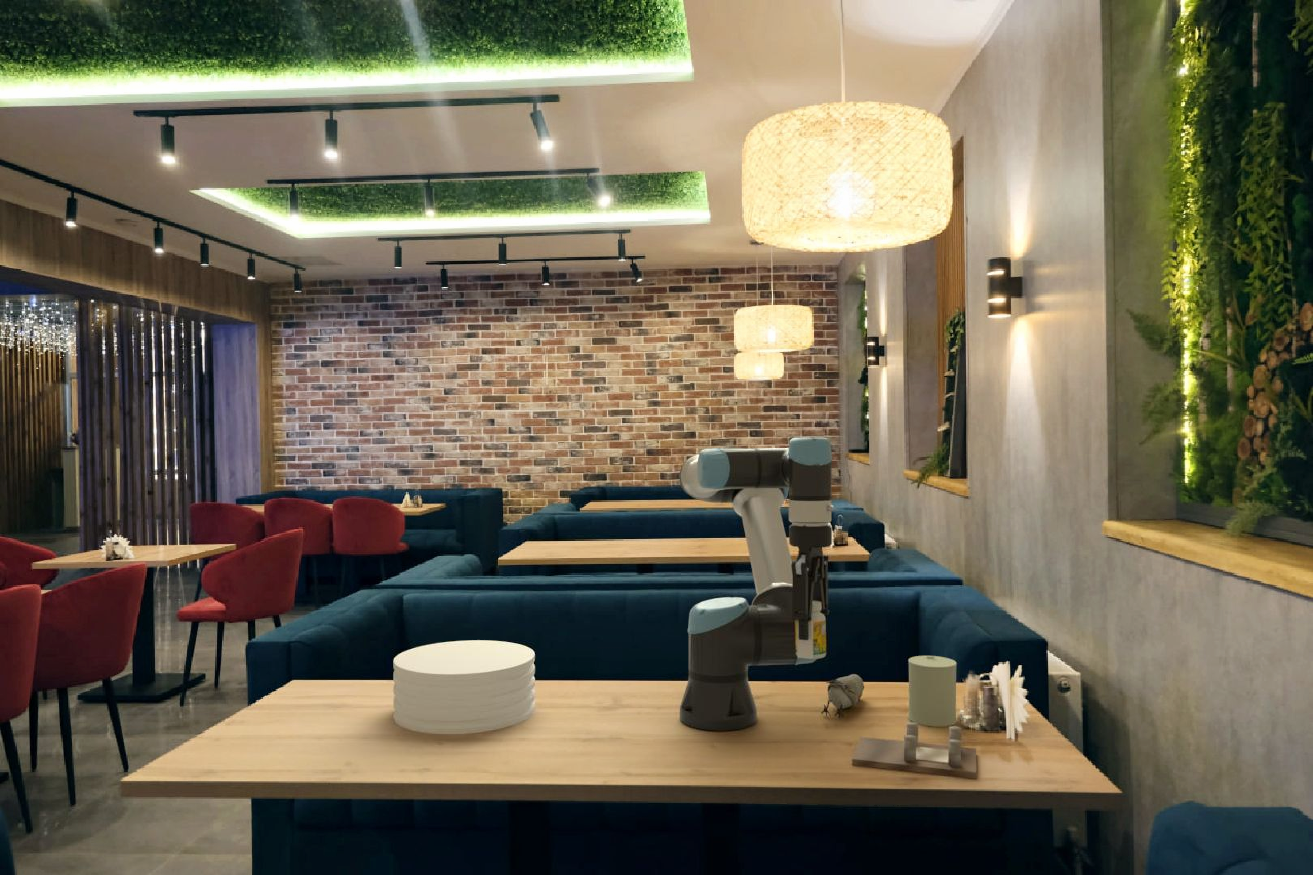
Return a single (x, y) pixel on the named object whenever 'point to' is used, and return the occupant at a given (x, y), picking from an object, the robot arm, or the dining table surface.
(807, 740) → the dining table surface
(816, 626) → the supplement bottle
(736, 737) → the dining table surface
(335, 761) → the dining table surface
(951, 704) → the can
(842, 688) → the decorative bird
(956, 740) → the pin nest
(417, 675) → the plate stack
